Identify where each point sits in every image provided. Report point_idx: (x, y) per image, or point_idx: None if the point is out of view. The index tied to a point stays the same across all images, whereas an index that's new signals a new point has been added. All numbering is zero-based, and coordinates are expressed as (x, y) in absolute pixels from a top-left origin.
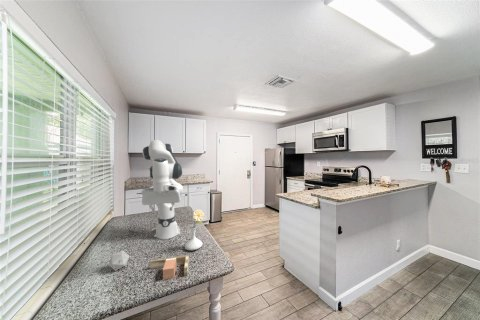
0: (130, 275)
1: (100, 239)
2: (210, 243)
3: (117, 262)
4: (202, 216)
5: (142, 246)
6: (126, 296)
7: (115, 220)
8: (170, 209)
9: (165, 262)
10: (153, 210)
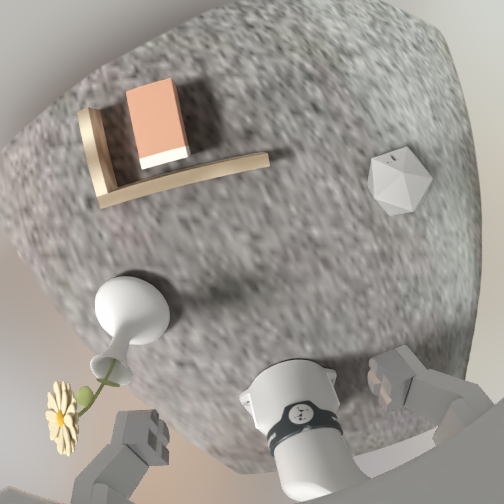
0: (322, 120)
1: (466, 330)
2: (82, 329)
3: (396, 154)
4: (49, 411)
5: (356, 310)
6: (274, 20)
7: None
8: (136, 421)
9: (180, 131)
10: (395, 366)
